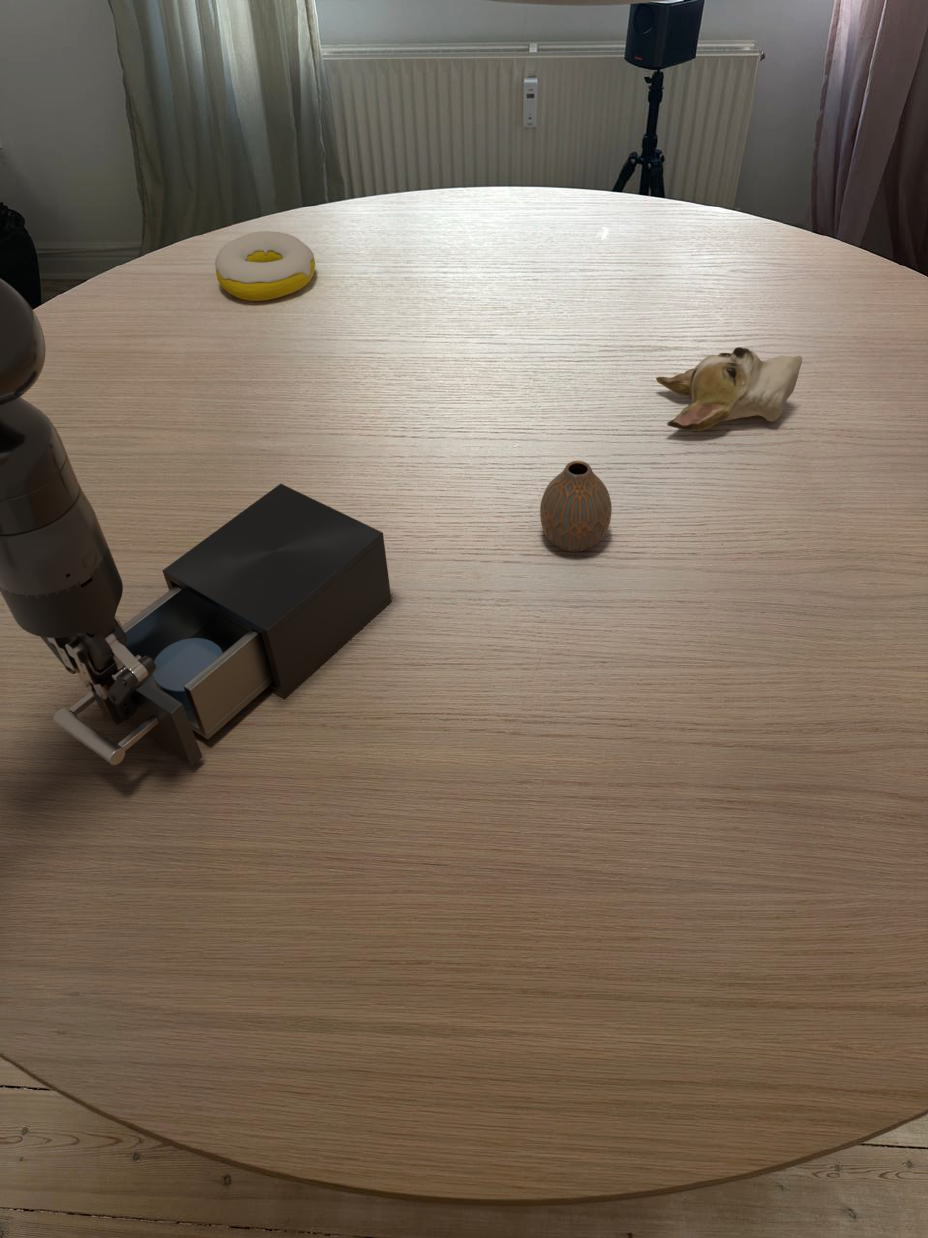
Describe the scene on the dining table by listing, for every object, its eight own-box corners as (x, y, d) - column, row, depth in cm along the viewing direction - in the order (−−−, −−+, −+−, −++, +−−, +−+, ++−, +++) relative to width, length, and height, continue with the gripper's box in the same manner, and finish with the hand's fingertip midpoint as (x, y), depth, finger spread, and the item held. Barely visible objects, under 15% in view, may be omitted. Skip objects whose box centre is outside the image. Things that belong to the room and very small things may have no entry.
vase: (567, 571, 95) (571, 500, 89) (525, 533, 99) (526, 463, 93) (623, 543, 97) (630, 472, 91) (579, 507, 101) (584, 437, 95)
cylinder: (169, 719, 81) (161, 701, 79) (151, 671, 85) (143, 653, 83) (238, 693, 83) (232, 674, 81) (218, 647, 87) (212, 628, 85)
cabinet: (284, 699, 85) (266, 630, 79) (185, 638, 90) (161, 570, 84) (392, 601, 93) (383, 532, 87) (295, 551, 98) (280, 482, 92)
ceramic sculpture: (816, 369, 102) (670, 381, 103) (804, 439, 108) (666, 449, 109) (793, 318, 109) (657, 330, 110) (782, 386, 115) (654, 396, 117)
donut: (219, 265, 143) (211, 231, 139) (313, 254, 144) (308, 220, 141) (219, 311, 133) (211, 276, 130) (321, 299, 135) (316, 264, 131)
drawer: (144, 809, 76) (119, 757, 72) (54, 741, 81) (24, 688, 77) (306, 663, 86) (294, 609, 82) (216, 611, 91) (200, 557, 87)
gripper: (-58, 546, 67) (32, 707, 79) (63, 626, 61) (140, 787, 73) (34, 489, 71) (106, 651, 83) (156, 559, 65) (213, 722, 77)
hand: (122, 714), depth 78 cm, fingers closed
